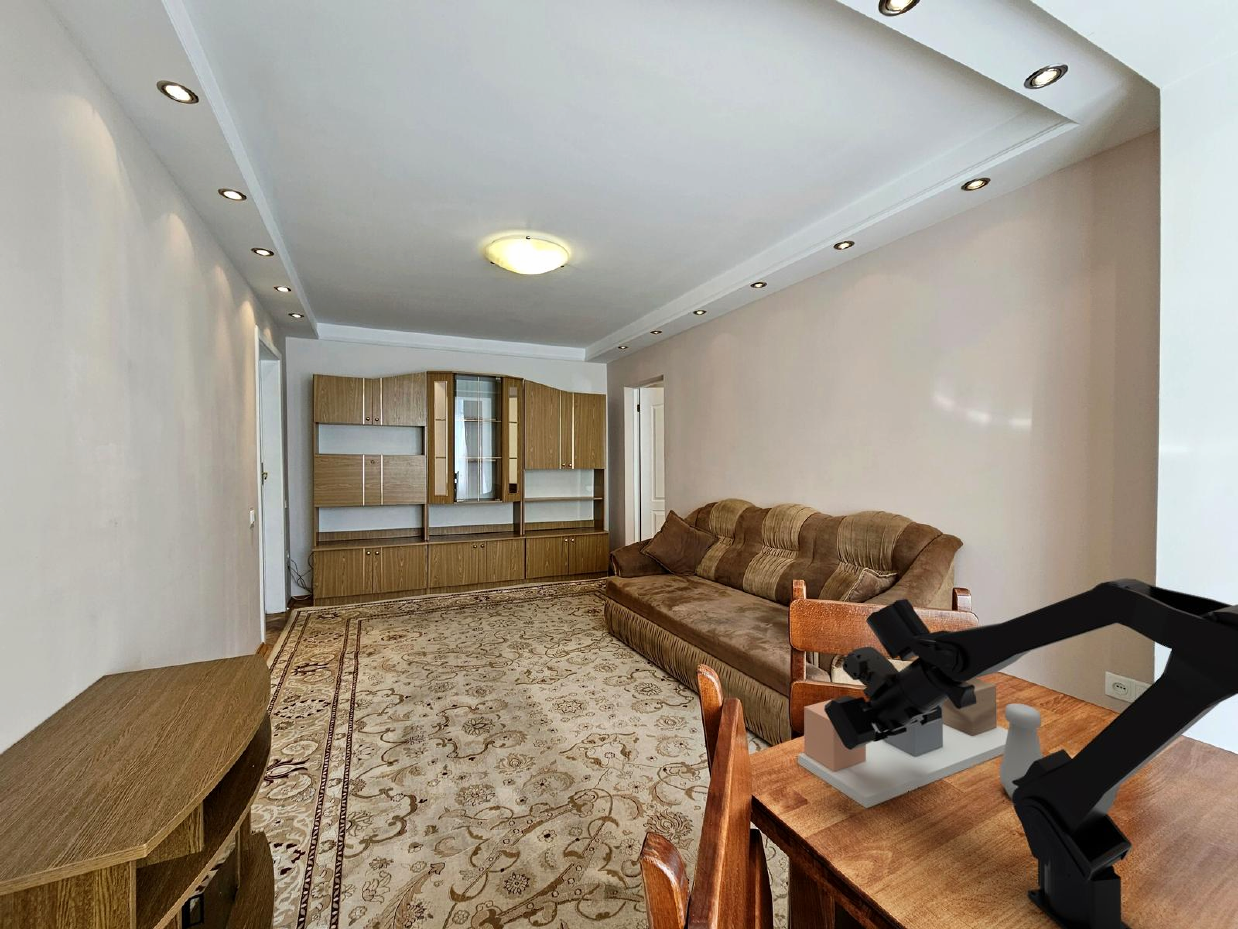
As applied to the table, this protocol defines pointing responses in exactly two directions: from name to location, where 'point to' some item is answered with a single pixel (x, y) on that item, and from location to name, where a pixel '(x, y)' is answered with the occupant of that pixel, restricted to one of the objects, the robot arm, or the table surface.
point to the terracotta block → (827, 740)
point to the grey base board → (908, 765)
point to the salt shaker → (1020, 744)
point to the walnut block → (973, 710)
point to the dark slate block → (919, 737)
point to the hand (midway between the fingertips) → (851, 734)
